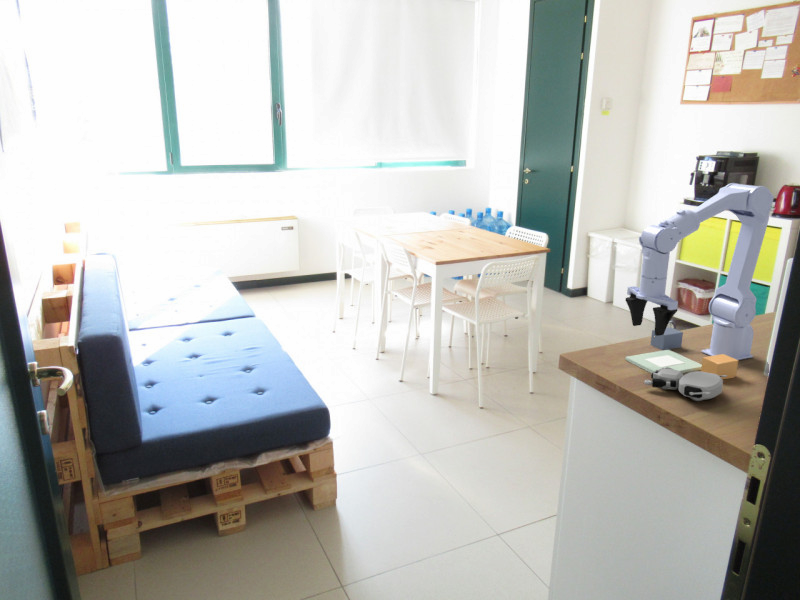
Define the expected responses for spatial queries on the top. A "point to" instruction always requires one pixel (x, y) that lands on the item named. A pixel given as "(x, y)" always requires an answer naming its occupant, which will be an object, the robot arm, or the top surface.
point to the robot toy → (688, 383)
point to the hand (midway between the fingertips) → (647, 329)
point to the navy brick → (667, 339)
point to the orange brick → (720, 365)
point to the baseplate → (663, 361)
